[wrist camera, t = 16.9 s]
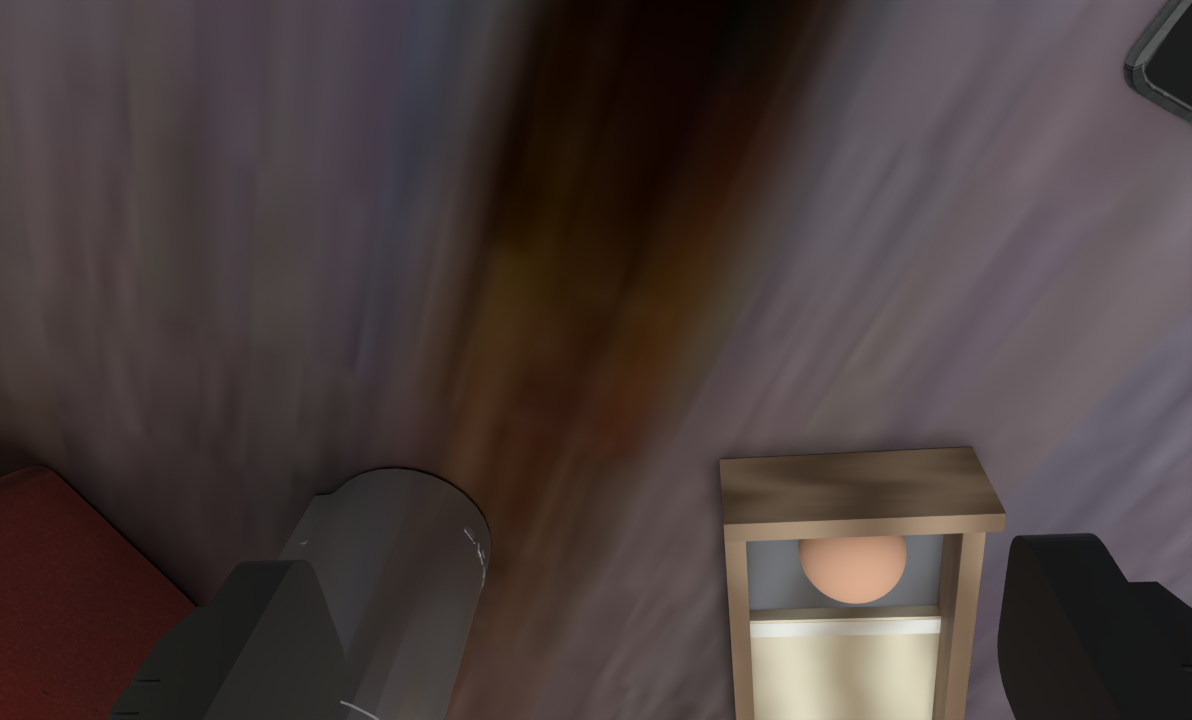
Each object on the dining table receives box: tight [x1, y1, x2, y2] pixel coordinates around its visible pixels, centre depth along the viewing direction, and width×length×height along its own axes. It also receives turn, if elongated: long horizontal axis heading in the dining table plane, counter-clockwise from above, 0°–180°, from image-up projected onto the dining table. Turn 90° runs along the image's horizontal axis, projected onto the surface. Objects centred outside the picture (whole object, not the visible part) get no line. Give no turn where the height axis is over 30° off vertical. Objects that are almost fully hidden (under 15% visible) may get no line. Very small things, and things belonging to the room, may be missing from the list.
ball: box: [798, 535, 907, 604], centre depth 42 cm, size 5×5×5 cm
